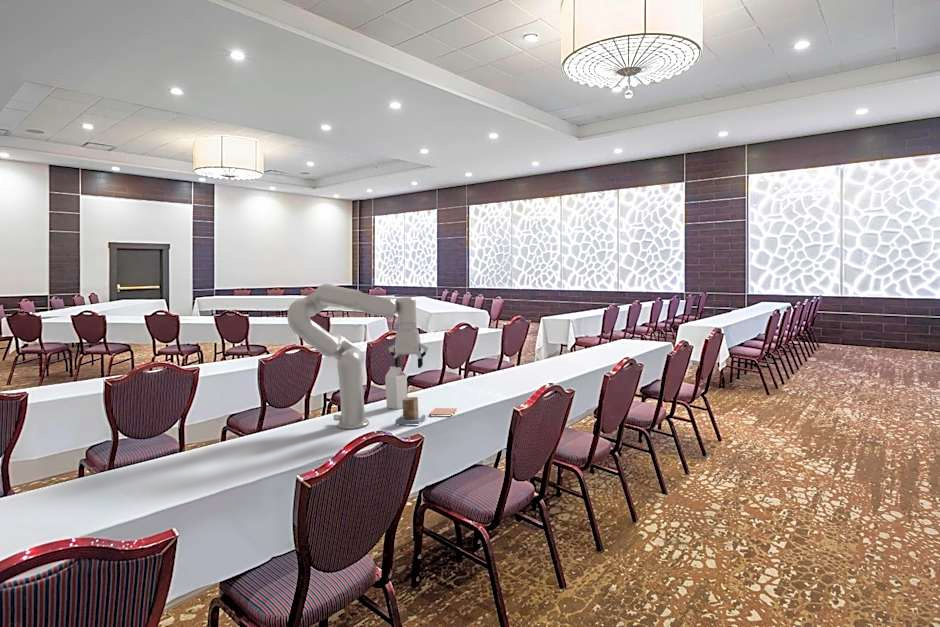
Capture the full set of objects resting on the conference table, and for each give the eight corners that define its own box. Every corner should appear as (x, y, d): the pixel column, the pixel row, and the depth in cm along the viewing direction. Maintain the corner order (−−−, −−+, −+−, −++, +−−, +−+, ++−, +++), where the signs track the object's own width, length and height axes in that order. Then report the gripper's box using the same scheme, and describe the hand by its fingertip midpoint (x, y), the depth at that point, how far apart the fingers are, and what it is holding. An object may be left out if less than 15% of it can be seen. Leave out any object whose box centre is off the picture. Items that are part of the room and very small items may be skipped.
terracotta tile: (429, 416, 235) (428, 413, 235) (435, 410, 245) (435, 408, 244) (451, 416, 233) (451, 414, 232) (456, 410, 242) (456, 408, 242)
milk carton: (397, 409, 248) (395, 369, 247) (386, 407, 252) (384, 367, 251) (408, 406, 254) (406, 366, 252) (397, 404, 258) (395, 365, 257)
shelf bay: (395, 424, 224) (395, 420, 223) (403, 418, 232) (403, 414, 232) (418, 425, 221) (418, 420, 221) (425, 419, 230) (425, 414, 230)
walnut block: (403, 423, 226) (402, 399, 225) (407, 420, 230) (406, 397, 230) (414, 423, 224) (413, 400, 224) (418, 420, 229) (417, 397, 228)
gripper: (384, 327, 223) (386, 368, 224) (424, 327, 219) (426, 369, 220) (391, 325, 230) (392, 365, 231) (430, 325, 226) (431, 366, 228)
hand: (408, 367), depth 226 cm, fingers open, 9 cm apart
